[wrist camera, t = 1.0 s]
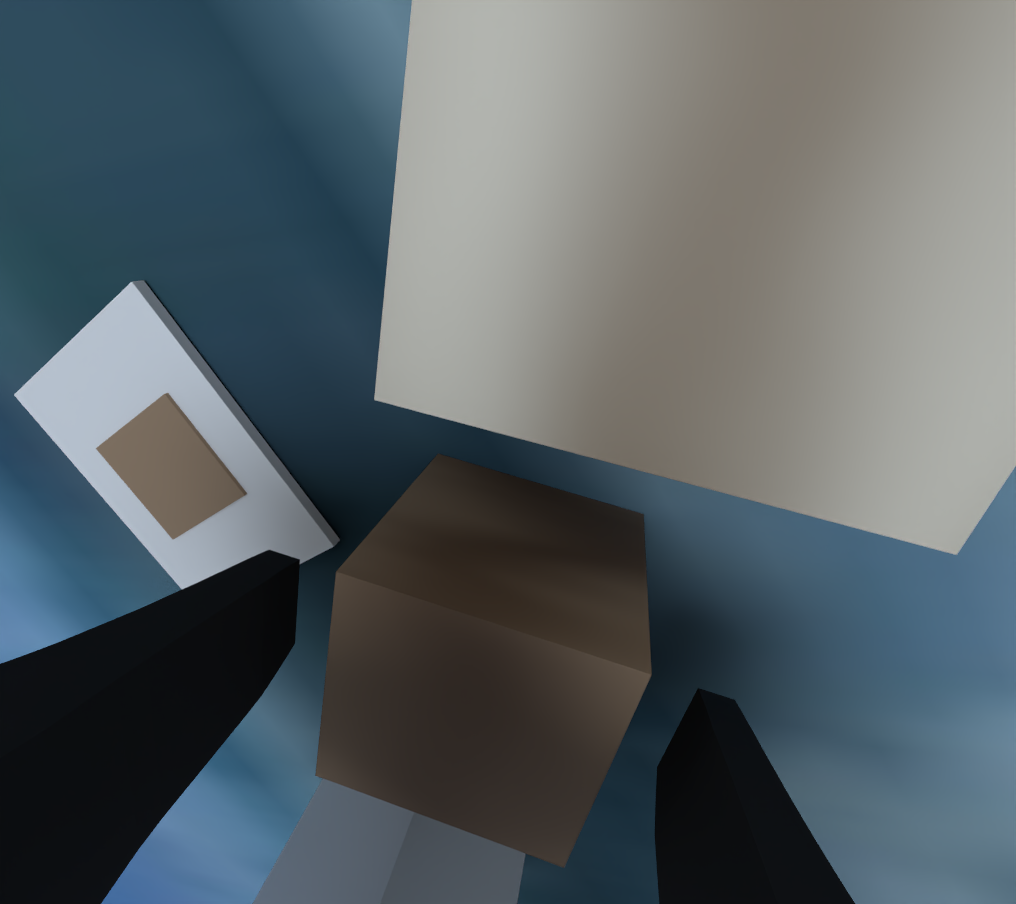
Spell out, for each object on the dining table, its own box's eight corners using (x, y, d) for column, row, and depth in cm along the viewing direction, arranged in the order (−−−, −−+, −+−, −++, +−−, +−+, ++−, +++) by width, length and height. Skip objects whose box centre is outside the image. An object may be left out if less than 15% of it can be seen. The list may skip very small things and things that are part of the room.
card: (339, 539, 13) (332, 548, 12) (211, 606, 15) (200, 616, 14) (143, 280, 11) (127, 281, 11) (26, 391, 13) (9, 396, 13)
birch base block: (1144, -115, 7) (1605, -427, 4) (853, 452, 10) (957, 555, 7) (530, -193, 8) (459, -497, 4) (448, 351, 11) (374, 399, 8)
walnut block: (643, 512, 11) (651, 675, 7) (584, 667, 13) (563, 867, 9) (439, 452, 12) (336, 571, 7) (410, 610, 13) (315, 775, 9)
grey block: (527, 838, 16) (492, 1048, 12) (412, 860, 17) (346, 1052, 13) (444, 731, 15) (373, 920, 11) (330, 765, 16) (232, 940, 12)
